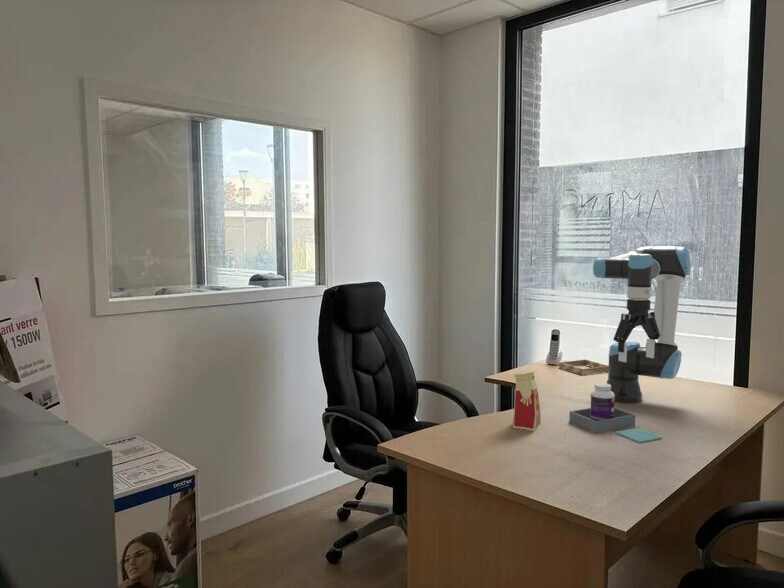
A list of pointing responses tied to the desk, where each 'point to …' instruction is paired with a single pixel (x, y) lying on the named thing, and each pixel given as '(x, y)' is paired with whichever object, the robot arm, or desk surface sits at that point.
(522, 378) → the milk carton
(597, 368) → the wooden square tray
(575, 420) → the rectangular frame
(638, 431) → the pad
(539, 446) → the desk surface
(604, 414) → the pill bottle
